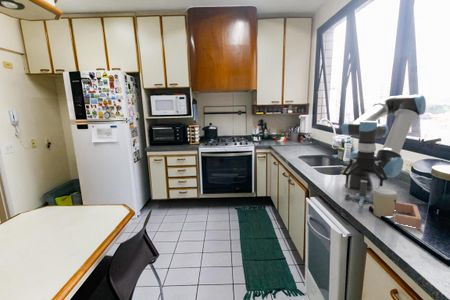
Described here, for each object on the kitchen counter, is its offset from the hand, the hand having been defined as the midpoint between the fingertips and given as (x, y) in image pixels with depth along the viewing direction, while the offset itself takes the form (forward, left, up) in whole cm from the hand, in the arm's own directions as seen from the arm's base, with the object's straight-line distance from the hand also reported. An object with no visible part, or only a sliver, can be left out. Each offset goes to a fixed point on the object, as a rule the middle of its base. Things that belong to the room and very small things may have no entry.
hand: (363, 189), depth 121 cm
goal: (+12, +18, -7) cm, 22 cm away
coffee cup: (+12, +9, -7) cm, 17 cm away
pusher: (+7, 0, -7) cm, 10 cm away
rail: (0, +5, -7) cm, 9 cm away
